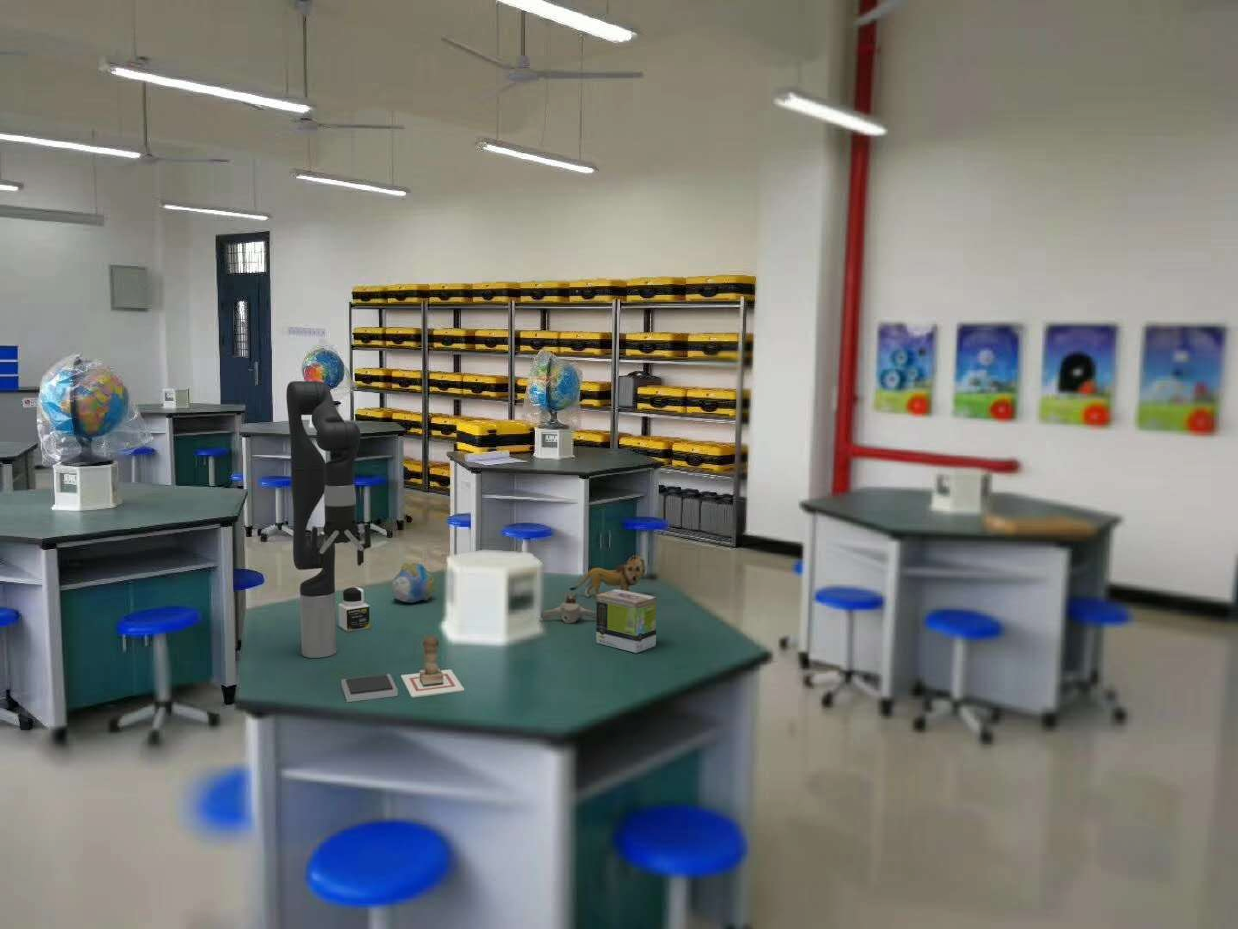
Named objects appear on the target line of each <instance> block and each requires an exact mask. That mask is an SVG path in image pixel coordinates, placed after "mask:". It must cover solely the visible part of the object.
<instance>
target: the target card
mask: <svg viewBox="0 0 1238 929" xmlns="http://www.w3.org/2000/svg"><path fill="white" fill-rule="evenodd" d="M441 672H442V673H443V685H435V686H427V687H423V685H422V684H421V682H420V672H417V673H409V674H401V675H400V677H401V679H402V681H403V683H404V685H405V687H406V690H407V691H408V693H409V695H410V697H411V698H413V699H414V698H420V697H429V696H438V695H445V694H455V693H460V692H461V693H462V692H465V688H464V686H462V684H461V682H460V680H458V678H457V676H456V675H455V673H454V672H453V670H452V669H444V670H441Z"/></svg>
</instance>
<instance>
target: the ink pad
mask: <svg viewBox="0 0 1238 929" xmlns="http://www.w3.org/2000/svg"><path fill="white" fill-rule="evenodd" d="M341 689H342V691H343V694H344V697H345V700H346V703H350V702H359V701H360V702H361V701H367V700H376V699H383V698H391V697H393V698H394V697H398V695H399V692H398V687H397V686H396V684H395V680H394V679H393V677H392V675H391V673H386V674H379V675H377V674H376V675H370V676H361V677H353V678H352V677H351V678H345V679H344V678H343V679H341Z"/></svg>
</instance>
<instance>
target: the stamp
mask: <svg viewBox="0 0 1238 929" xmlns="http://www.w3.org/2000/svg"><path fill="white" fill-rule="evenodd" d="M439 646H440V642H439V639H438V638H437V637H436V636H432V635H430V636H427V637H425V638H424V639H423V641H422V647H423V649H424V669H421V670H419V673H420V682H421V684H422V685H423V687H427V686H435V685H443V673H442V672H441V671H442V670H441V668H439V666H438V659H439V658H438V657H439V656H438V649H439Z"/></svg>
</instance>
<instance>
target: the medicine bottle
mask: <svg viewBox="0 0 1238 929" xmlns="http://www.w3.org/2000/svg"><path fill="white" fill-rule="evenodd" d="M342 595H343V597H342V600H343V602H341V603H339V604H338V626H339V627H340V628H341V629H343V630H344V631H346V632H347V633H348V632H354V631H359V630H365V629H366V630H367V629H370V628H371V627H370V626H371V625H370V623H371V622H370V605H369V604H367V603H366V602H364V601H365V591H364V589H363V588H361V587H357V586H356V587H355V586H353V587H348V588H345V589H343V592H342Z"/></svg>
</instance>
